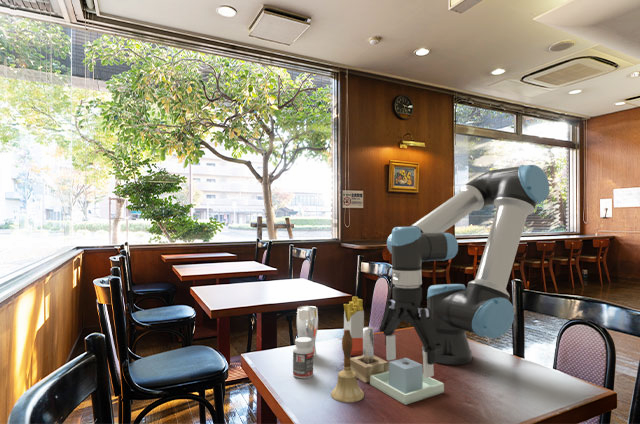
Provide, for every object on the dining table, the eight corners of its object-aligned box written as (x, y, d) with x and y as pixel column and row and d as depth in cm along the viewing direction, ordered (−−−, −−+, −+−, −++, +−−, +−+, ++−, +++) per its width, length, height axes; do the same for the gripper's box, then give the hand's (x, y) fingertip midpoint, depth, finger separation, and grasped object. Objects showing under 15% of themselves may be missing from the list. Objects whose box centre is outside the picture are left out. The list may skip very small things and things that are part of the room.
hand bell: (324, 396, 93) (324, 330, 94) (344, 385, 100) (344, 324, 100) (351, 406, 88) (351, 337, 89) (370, 394, 94) (370, 329, 95)
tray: (406, 374, 107) (406, 366, 107) (444, 392, 96) (443, 383, 96) (370, 384, 100) (370, 375, 100) (405, 404, 89) (405, 395, 89)
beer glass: (291, 354, 123) (292, 308, 123) (307, 349, 128) (307, 304, 128) (307, 360, 118) (307, 311, 118) (322, 354, 123) (322, 308, 123)
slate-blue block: (405, 380, 102) (405, 357, 102) (422, 388, 97) (422, 364, 97) (388, 384, 99) (388, 361, 99) (405, 393, 94) (405, 369, 94)
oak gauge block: (370, 367, 112) (370, 353, 112) (388, 376, 105) (388, 362, 105) (348, 372, 108) (348, 358, 108) (365, 382, 101) (365, 367, 101)
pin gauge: (369, 371, 109) (369, 326, 109) (375, 375, 106) (375, 328, 107) (360, 373, 107) (360, 327, 108) (367, 377, 105) (367, 330, 105)
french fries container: (350, 358, 119) (350, 301, 120) (342, 347, 130) (342, 295, 130) (364, 358, 120) (364, 301, 120) (355, 347, 131) (355, 294, 131)
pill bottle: (310, 380, 103) (310, 343, 103) (290, 378, 104) (290, 341, 104) (315, 372, 108) (315, 337, 109) (295, 370, 110) (296, 335, 110)
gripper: (366, 280, 108) (367, 355, 107) (433, 294, 86) (435, 388, 86) (386, 278, 112) (387, 350, 111) (455, 291, 90) (458, 381, 90)
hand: (408, 367), depth 98 cm, fingers open, 13 cm apart
